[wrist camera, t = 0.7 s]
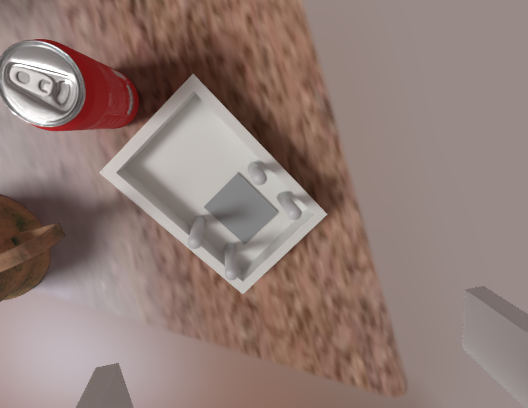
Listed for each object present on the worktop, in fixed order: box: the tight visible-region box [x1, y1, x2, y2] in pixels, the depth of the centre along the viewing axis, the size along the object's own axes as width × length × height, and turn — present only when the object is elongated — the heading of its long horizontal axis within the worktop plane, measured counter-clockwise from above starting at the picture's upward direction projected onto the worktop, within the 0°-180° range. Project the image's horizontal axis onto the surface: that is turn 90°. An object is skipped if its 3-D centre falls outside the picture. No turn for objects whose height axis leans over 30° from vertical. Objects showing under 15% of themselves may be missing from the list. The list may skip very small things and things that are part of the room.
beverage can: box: [0, 39, 139, 131], centre depth 23 cm, size 5×5×12 cm
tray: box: [99, 74, 327, 294], centre depth 29 cm, size 18×12×7 cm, turn 44°
